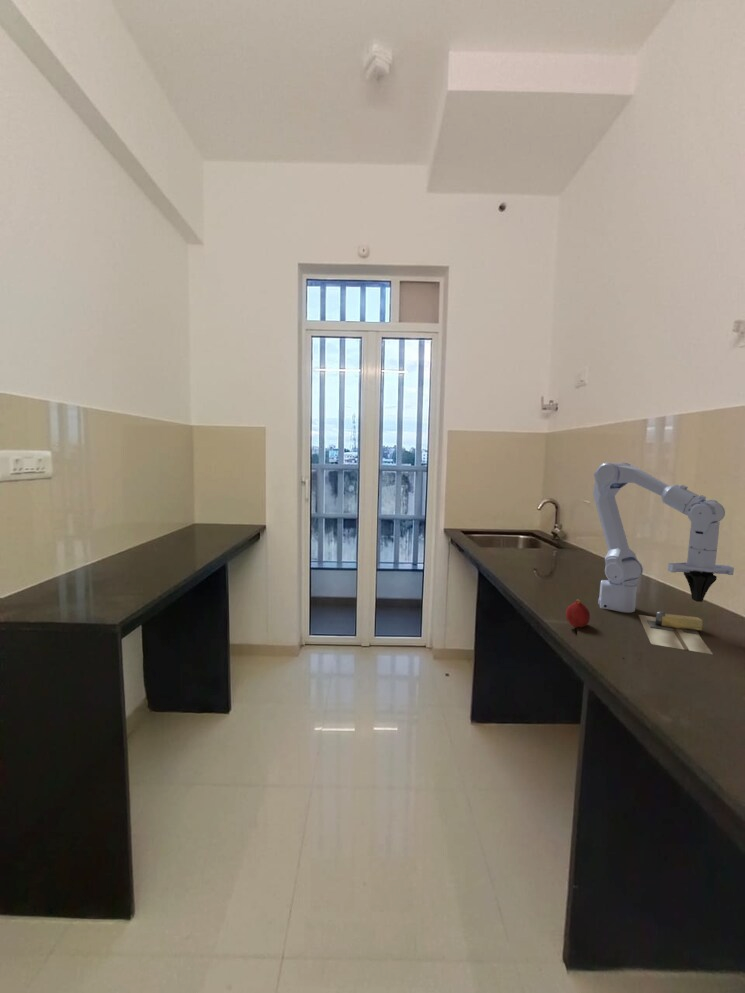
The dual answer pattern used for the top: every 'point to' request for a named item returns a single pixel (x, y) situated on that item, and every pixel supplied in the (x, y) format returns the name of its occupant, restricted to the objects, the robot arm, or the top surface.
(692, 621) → the swing bar
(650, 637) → the door board
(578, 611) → the onion
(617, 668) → the top surface
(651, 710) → the top surface
